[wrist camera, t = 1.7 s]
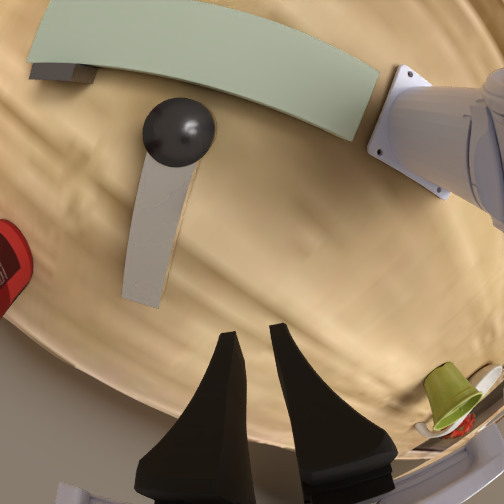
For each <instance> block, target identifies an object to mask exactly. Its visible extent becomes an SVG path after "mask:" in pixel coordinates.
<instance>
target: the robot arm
mask: <svg viewBox="0 0 504 504" xmlns="http://www.w3.org/2000/svg"><path fill="white" fill-rule="evenodd" d="M408 72H409V73H410V77H409V76H408ZM378 149H380V151H381V152H380V154H379V155H378V154H377V151H378ZM367 152H368V153H369V154H370V155H372V156H373V157H375V158H377V159H379V160H381V161H382V162H384V163H386V164H388V165H389V166H391V167H393V168H394V169H396V170H398V171H399V172H401V173H403V174H404V175H406V176H408V177H409V178H411V179H412V180H414V181H416V182H417V183H419V184H420V185H422V186H423V187H425V188H426V189H428V190H429V191H431V192H432V193H434V194H435V195H437V196H438V197H440V198H441V199H443V200H446V199H447V198H448V197H449V195H450V192H452V193H454V194H455V195H457V196H459V197H461V198H463V199H465V200H466V201H468V202H470V203H472V204H473V205H475V206H477V207H478V208H480V209H482V210H483V211H485V212H487V213H488V214H489V215H490V216H491V218H492V220H493V225H494V226H495V227H496V228H498V229H499V230H501V231H502V232H503V233H504V68H501V69H498V70H495V71H493V72H492V73H490V74H489V76H488V77H487V79H486V82H485V83H484V84H483V85H482V87H481V89H479V88H465V87H441V86H432V85H431V84H430V83H429V82H428V81H426V80H425V79H424V78H422V77H421V76H420V75H419V74H417V73H416V72H415V71H413V70H412V69H411V68H409V67H408V66H406V65H400V66H399V67H398V69H397V71H396V74H395V77H394V80H393V82H392V85H391V88H390V90H389V93H388V96H387V98H386V101H385V104H384V106H383V109H382V111H381V114H380V116H379V119H378V121H377V124H376V126H375V129H374V131H373V133H372V136H371V138H370V141H369V143H368V145H367ZM438 188H439V189H438ZM437 189H438V191H437ZM269 328H270V334H271V340H272V346H273V351H274V356H275V361H276V367H277V372H278V377H279V381H280V384H281V388H282V392H283V395H284V399H285V402H286V406H287V410H288V413H289V417H290V421H291V426H292V432H293V438H294V444H295V450H296V456H297V461H298V468H299V474H300V480H301V486H302V493H303V499H304V504H371V503H374V502H376V501H378V502H377V503H376V504H461V503H463V502H464V501H466V500H467V499H469V498H470V497H471V496H473V495H474V494H476V493H477V492H478V491H480V490H481V489H482V488H483V487H485V486H486V485H488V484H489V483H490V482H491V481H493V480H494V479H495V478H496V477H498V476H499V475H500V474H501V473H503V472H504V440H503V438H502V436H501V434H500V432H499V430H498V428H497V426H496V424H495V423H492V424H491V425H490V426H488V427H487V428H485V429H484V430H482V431H481V432H479V433H478V434H477V435H475V436H474V437H472V438H471V439H470V440H469V441H468V442H467V443H466V444H465V445H463V446H462V447H460V448H458V449H457V450H455V451H453V452H452V453H450V454H448V455H446V456H444V457H443V458H441V459H439V460H437V461H435V462H433V463H431V464H429V465H427V466H425V467H423V468H421V469H418V470H416V471H414V472H412V473H410V474H407V475H405V476H403V477H400V478H398V479H395V480H393V479H392V476H391V472H392V468H391V465H390V463H391V462H392V461H393V460H394V459H395V458H396V456H397V454H398V451H397V448H396V446H395V444H394V442H393V441H392V439H391V438H390V436H389V435H388V433H387V432H386V431H385V430H384V429H382V428H380V427H379V426H377V425H375V424H374V423H372V422H371V421H369V420H368V419H366V418H365V417H364V416H362V415H361V414H360V413H358V412H357V411H356V410H354V409H353V408H352V407H351V406H350V405H348V404H347V403H346V402H345V401H344V400H342V399H341V398H340V397H339V396H338V395H337V394H336V393H335V392H334V391H333V390H332V389H331V388H330V387H329V386H328V385H327V384H326V383H325V382H324V381H323V380H322V379H321V377H320V376H319V375H318V374H317V373H316V371H315V370H314V369H313V368H312V367H311V365H310V364H309V363H308V361H307V360H306V358H305V357H304V356H303V354H302V353H301V351H300V350H299V348H298V347H297V345H296V343H295V342H294V340H293V338H292V336H291V334H290V332H289V330H288V328H287V325H286V324H285V323H280V324H275V325H269ZM246 401H247V379H246V370H245V361H244V357H243V354H242V351H241V348H240V345H239V341H238V338H237V335H236V332H235V331H233V332H226V333H221V334H220V335H219V339H218V342H217V345H216V348H215V351H214V354H213V356H212V359H211V361H210V363H209V366H208V368H207V370H206V373H205V375H204V377H203V379H202V381H201V383H200V385H199V387H198V389H197V391H196V392H195V394H194V396H193V398H192V399H191V401H190V403H189V404H188V406H187V407H186V409H185V410H184V412H183V413H182V415H181V416H180V417H179V419H178V420H177V421H176V423H175V424H174V425H173V427H172V428H171V429H170V430H169V431H168V432H167V434H166V435H165V436H164V437H163V438H162V439H161V440H160V442H159V443H158V444H157V445H156V446H155V447H153V448H152V450H150V451H149V452H148V453H147V454H146V455H145V456H144V457H143V458H142V459H140V460H139V464H138V468H137V471H136V478H135V485H134V489H135V490H136V492H138V493H139V494H141V495H144V496H146V497H148V498H151V499H153V500H155V503H154V504H256V500H255V495H254V487H253V482H252V474H251V467H250V459H249V450H248V441H247V430H246ZM379 500H380V501H379ZM55 504H131V503H126V502H121V501H117V500H113V499H109V498H105V497H102V496H98V495H95V494H91V493H89V492H88V491H86V490H84V489H81V488H79V487H76V486H73V485H71V484H67V483H65V482H62V481H60V482H59V487H58V492H57V497H56V503H55Z"/></svg>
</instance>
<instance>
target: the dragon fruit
mask: <svg viewBox="0 0 504 504" xmlns="http://www.w3.org/2000/svg"><path fill="white" fill-rule="evenodd" d="M470 412H471V411H470ZM475 420H476V418H475V414H474V413H472V414H471V413H469V414H468V415H467V416H466V418H465V419H464V420H463V421H462V422H461V423H460V425H459V426H458V427H457V428H456V429H454V430H453V431H452V432H450V433H448V434H446V435H444V436H441V438H440V437H439V438H440V439H443V440H445V439H448V438H450V439H452V438H453V439H455V438H457V439H459V437H460V436H461V437H463V436H464V434H465V433H466V434H467V433H468V431H470V430H471V428H472V427H473V426H474V422H475ZM447 427H448V426H447ZM447 427H445V428H443V429H441V431H442V430H444V429H446V428H447Z"/></svg>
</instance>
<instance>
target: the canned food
mask: <svg viewBox="0 0 504 504" xmlns="http://www.w3.org/2000/svg"><path fill="white" fill-rule="evenodd" d="M32 272H33V260H32V255H31V251H30V248H29V246H28V243H27V241H26V239H25V238H24V236H23V235H22V233H21V231H20V230H19V229H18V228H17V227H16V226H15V225H14V224H13V223H11V222H9V221H8V220H4V219H0V319H1V318H2V316H3V315H4V314H5V312H6V311H7V310H8V309H9V307H10V306H11V305H12V303H13V302H14V301H15V300H16V298H17V297H18V296H19V295H20V293H21V292H22V291H23V290H24V289H25V287H26V286H27V285H28V283H29V281H30V278H31V276H32Z"/></svg>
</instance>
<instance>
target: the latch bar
mask: <svg viewBox="0 0 504 504" xmlns="http://www.w3.org/2000/svg"><path fill="white" fill-rule="evenodd" d="M216 134H217V122H216V119H215V117H214V115H213V113H212V111H211V110H210V109H209V108H208V107H207V106H205V105H204V104H202V103H200V102H197V101H194V100H191V99H187V98H172V99H168V100H166V101H163V102H162V103H160V104H158V105H157V106H156V107H155V108H154V109H153V110H152V111H151V112H150V113H149V115H148V116H147V118H146V120H145V123H144V127H143V142H144V145H145V148H146V150H147V153H146V157H145V161H144V165H143V169H142V173H141V177H140V182H139V186H138V191H137V196H136V200H135V205H134V211H133V216H132V222H131V227H130V233H129V240H128V246H127V253H126V261H125V269H124V277H123V287H122V298H125V299H128V300H131V301H134V302H137V303H141V304H144V305H147V306H151V307H154V308H158V309H159V306H160V303H161V299H162V296H163V293H164V290H165V287H166V282H167V278H168V274H169V269H170V265H171V261H172V257H173V253H174V249H175V245H176V241H177V237H178V233H179V230H180V226H181V222H182V219H183V215H184V211H185V208H186V204H187V201H188V197H189V194H190V191H191V187H192V184H193V181H194V177H195V174H196V171H197V168H198V165H199V162H200V159H201V158H202V157H203V156H204V155H205V154H206V152H207V151H208V150H209V148H210V147H211V145H212V144H213V142H214V140H215V138H216Z"/></svg>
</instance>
